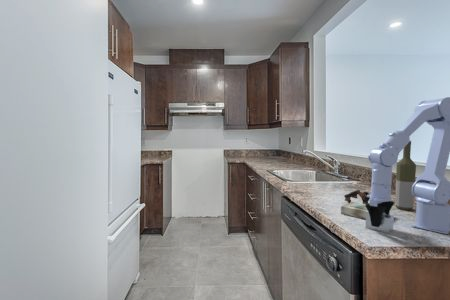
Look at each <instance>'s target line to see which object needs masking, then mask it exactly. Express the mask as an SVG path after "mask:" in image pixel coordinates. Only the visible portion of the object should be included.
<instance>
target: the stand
mask: <svg viewBox="0 0 450 300" xmlns="http://www.w3.org/2000/svg"><path fill="white" fill-rule="evenodd" d="M362 203H363V202H362ZM362 203H361V202H356V201H351V202H350V203H348V202H347V203H346V204H344V205H341V208H340V215H341V214H342V215H345V216H348V217H349V216H351V217H355V218H358V219H362V220H363V219H364V220H366V213H368V210H367V208H366V204H362ZM390 212H391V211H390ZM390 212H389V215H391V213H390Z"/></svg>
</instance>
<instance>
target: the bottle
mask: <svg viewBox="0 0 450 300" xmlns="http://www.w3.org/2000/svg"><path fill="white" fill-rule="evenodd" d="M411 147H412V140H410V142H409V143H408V144H407V145H406V146H405V147H404V148H403V149H402V151H403V152H402V154H403V155H402V158H401V159H400V160H399V161H397V162H396V176H395V182H396V183H395V207H396V208H397V209H399V210H403V211H411V210H413V209H414V199H415V198H414V197H415V196H414V195H413V194H412V186H413V184H414V183H415V181H416V173H417V171H416V170H417V164H416V162H414V161H413V160H412V158H411V152H412V151H411V149H412V148H411Z"/></svg>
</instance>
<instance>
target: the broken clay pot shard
mask: <svg viewBox="0 0 450 300" xmlns="http://www.w3.org/2000/svg"><path fill="white" fill-rule="evenodd" d="M367 195H371V193H369V192H368V191H363V192H362V191H361V190H360V189H356V190H354V191H353V190H352V192H349V193H346V194H345V195H343V196H344V201H345V202H347V204H348V203H351V202H352V200H351V199H358V196H359V197H360V199H361V201H362V204H367V203H369V202H370V198H369V197H367Z"/></svg>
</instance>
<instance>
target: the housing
mask: <svg viewBox="0 0 450 300" xmlns="http://www.w3.org/2000/svg"><path fill="white" fill-rule="evenodd" d="M385 213H386V212H384V213H383V215H382V219H381V223H380V226H379V227H375V226H372V225H371V220H370V215H369V212H368V213H366V219H365V226H364V227H365V229H369V230H374V231H377V232H383V233H384V234H385V233H386V234H391V232H393V231H394V215H391V214H390V215H387V214H385Z"/></svg>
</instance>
